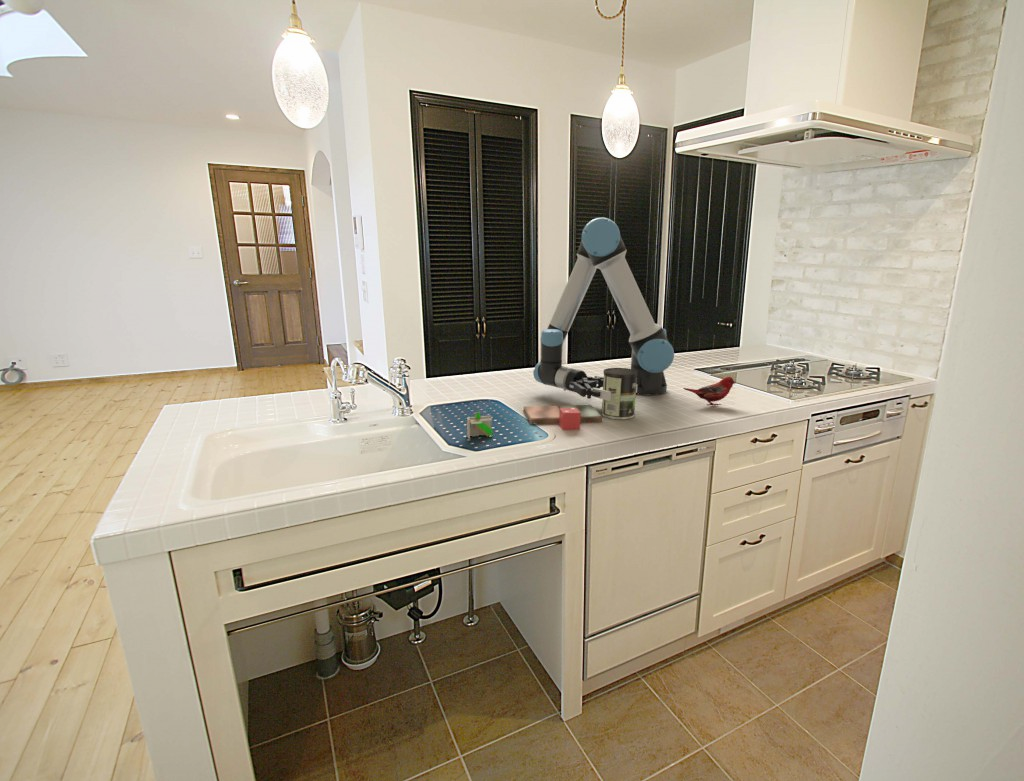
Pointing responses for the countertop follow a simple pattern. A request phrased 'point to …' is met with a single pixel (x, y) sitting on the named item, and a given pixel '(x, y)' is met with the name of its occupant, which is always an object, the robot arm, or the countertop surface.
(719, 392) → the decorative bird figurine
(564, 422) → the red cube
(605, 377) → the coffee can
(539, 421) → the green brown wooden board
